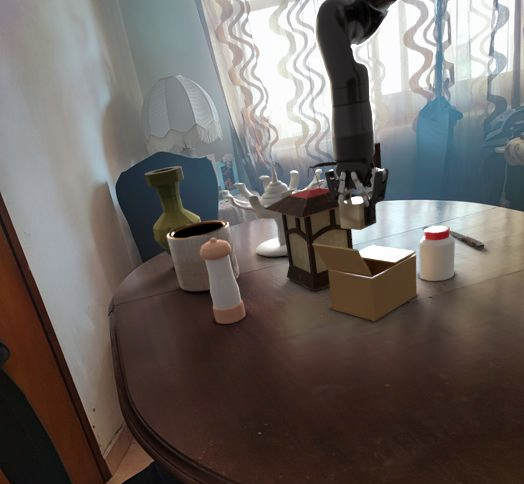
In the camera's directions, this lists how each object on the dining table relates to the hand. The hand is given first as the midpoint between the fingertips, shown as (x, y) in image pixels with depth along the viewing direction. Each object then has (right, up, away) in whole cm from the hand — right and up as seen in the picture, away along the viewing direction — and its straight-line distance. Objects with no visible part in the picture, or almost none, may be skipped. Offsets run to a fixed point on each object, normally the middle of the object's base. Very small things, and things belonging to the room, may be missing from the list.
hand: (358, 223), depth 92 cm
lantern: (0, -5, +31) cm, 31 cm away
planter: (-34, -6, +42) cm, 55 cm away
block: (0, 0, 0) cm, 0 cm away
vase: (-44, +3, +61) cm, 75 cm away
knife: (+35, +7, +40) cm, 54 cm away
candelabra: (-12, +7, +58) cm, 60 cm away
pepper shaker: (-27, -18, +18) cm, 37 cm away
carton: (+6, -15, +11) cm, 19 cm away
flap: (-3, -7, 0) cm, 8 cm away
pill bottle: (+23, -7, +19) cm, 30 cm away
